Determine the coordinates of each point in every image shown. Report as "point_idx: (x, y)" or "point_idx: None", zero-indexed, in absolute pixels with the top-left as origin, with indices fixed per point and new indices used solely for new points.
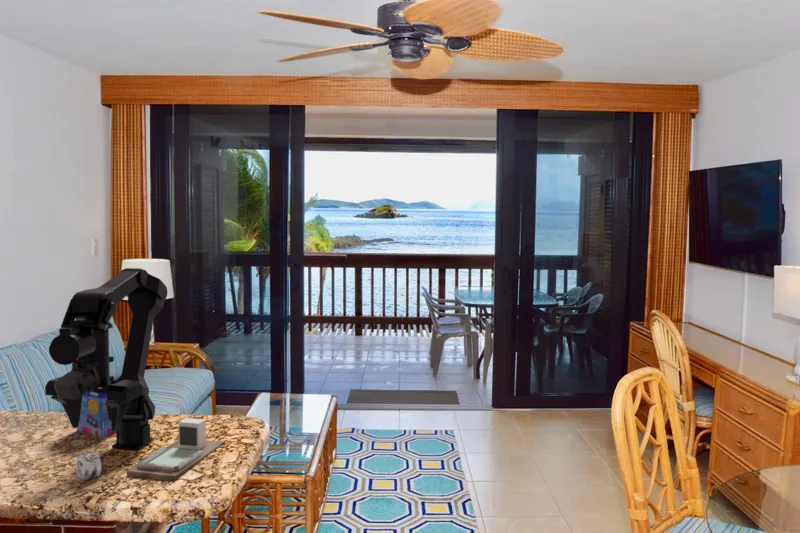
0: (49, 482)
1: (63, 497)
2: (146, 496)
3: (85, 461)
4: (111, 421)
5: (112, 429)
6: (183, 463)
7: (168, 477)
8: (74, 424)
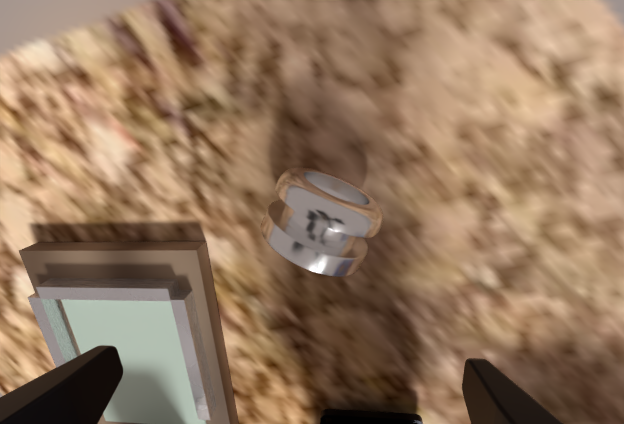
0: (449, 125)
1: (281, 16)
2: (21, 124)
3: (294, 187)
4: (18, 411)
5: (94, 354)
6: (38, 320)
7: (48, 247)
8: (479, 384)
